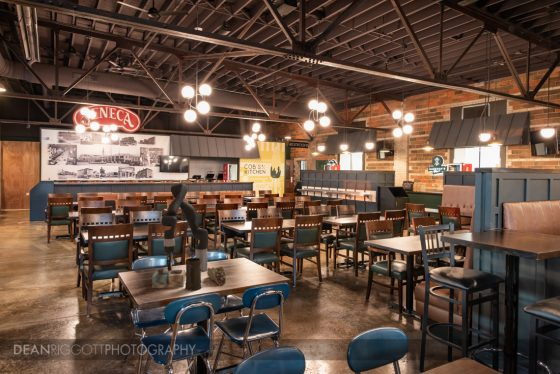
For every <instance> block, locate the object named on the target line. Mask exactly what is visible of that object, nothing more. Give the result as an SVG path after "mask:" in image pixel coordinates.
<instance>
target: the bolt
mask: <svg viewBox="0 0 560 374" xmlns="http://www.w3.org/2000/svg"><path fill="white" fill-rule="evenodd" d="M172 267H173V262H172V263H171V270H170V271H168V269H165V270H163V273H169V274H170V273H171V271H172V270H173V268H172Z"/></svg>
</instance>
